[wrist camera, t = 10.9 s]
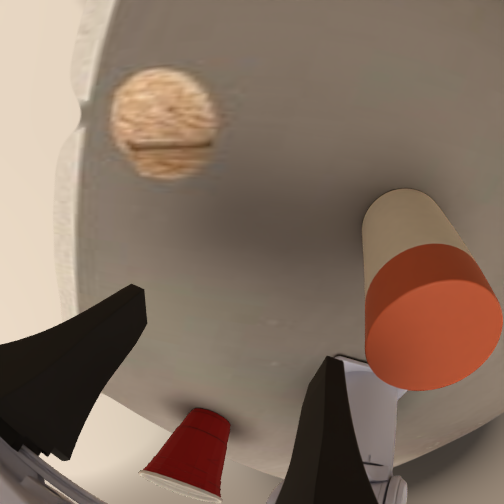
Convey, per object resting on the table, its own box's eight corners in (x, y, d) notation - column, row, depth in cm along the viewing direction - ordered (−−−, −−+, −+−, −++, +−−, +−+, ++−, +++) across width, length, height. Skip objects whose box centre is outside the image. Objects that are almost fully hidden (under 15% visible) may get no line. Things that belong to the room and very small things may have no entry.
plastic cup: (235, 443, 41) (207, 508, 32) (171, 412, 42) (136, 476, 32) (263, 424, 35) (232, 508, 25) (184, 387, 35) (140, 468, 25)
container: (379, 175, 16) (408, 257, 8) (457, 207, 15) (528, 305, 7) (349, 253, 19) (341, 374, 11) (422, 279, 18) (450, 400, 10)
